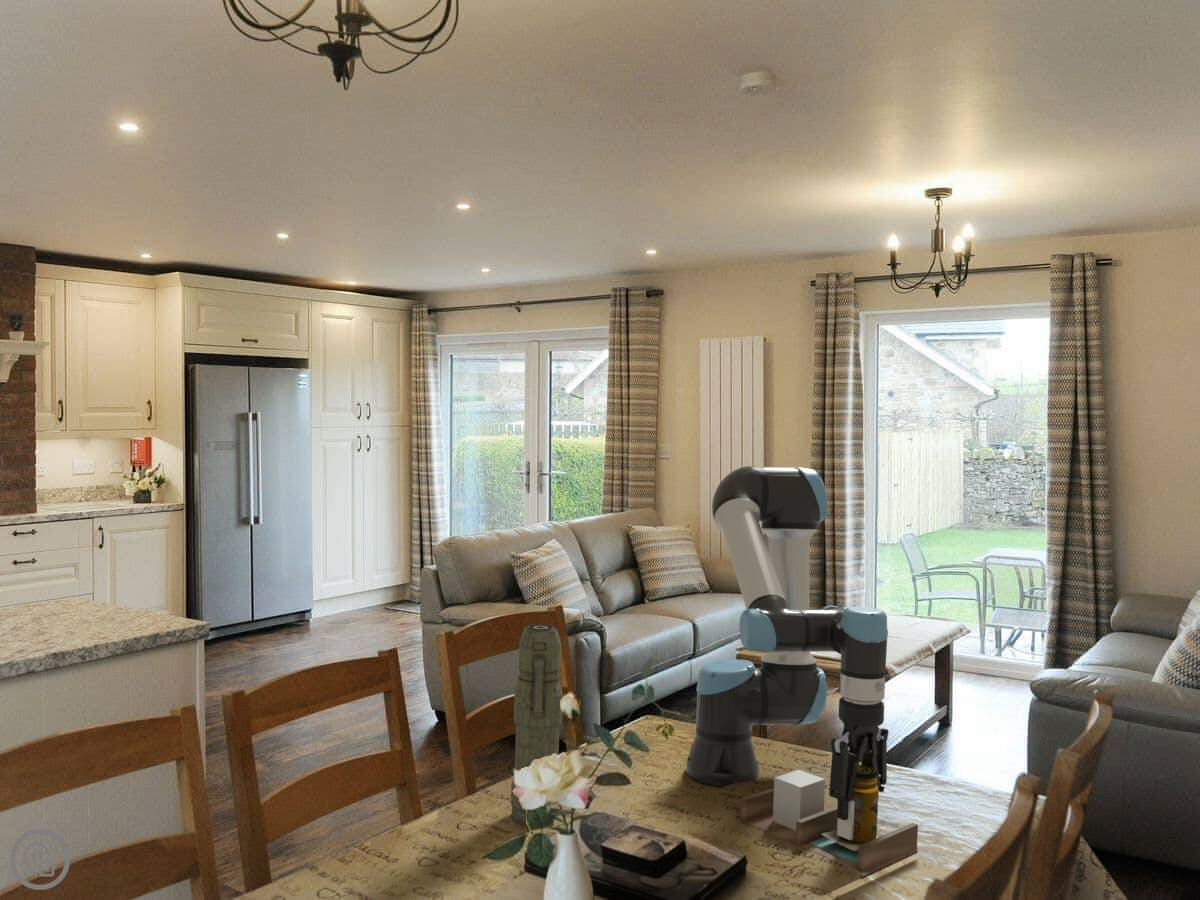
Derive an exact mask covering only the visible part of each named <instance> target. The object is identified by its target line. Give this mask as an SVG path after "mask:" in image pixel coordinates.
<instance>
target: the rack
mask: <svg viewBox="0 0 1200 900" xmlns="http://www.w3.org/2000/svg"><path fill="white" fill-rule="evenodd" d="M773 802H774V787H771V788H769V789H765V790H763V791H760V792H757V793H754V794H751V795H748V796H745V797H742V798H741V800H740V804H741V805H740V821H741V822H744V823H746V824H748V825H750V826H752V827H754V828H757V829H760V830H762V831H763V832H767V833H769V834H771V835H773V836H776V837H778V838H781V839H783V840H784V841H788V842H790V843H792V844H794V845H796V846H799V847H801V848H803V849H806V850H807V851H811V852H813V853H815V854H817V855H820V856H822V857H824V858H827V859H829V860H831V861H834V862H836V863H839V864H841V865H843V866H845V867H848V868H849V869H852V870H854V871H856V872H859V873H861V874H864V873H866V872H868V871H870V870H873V869H875V868H877V867H879V866H881V865H883V864H885V863H887V862H890V861H892V860H894V859H896V858H898V857H901V856H903V855H905V854H907V853H909V852H911V851H914V850H916V849H917V848H918V831H919V828H918V827H919V824H917V823H915V822H911V823H908V824H906V825H904V826H901V827H899V828H897V829H895V830H893V831H890V832H888V833H885V834H884V833H881V832H878V831H877V836H878V838H876V839H874V840H871V841H869V842H867V843H864V844H862V845H860V846H858V850H856V851H853V850H851V849H848V848H846V847H845V846H842V845H839V844H838V843H836V842H834V841H832V840H830V839H828V838H827V837H825V836H823V835H822V834H823V833H828V832H831V831H834V830H837V825H838V817H837V810H838V809H837V806H838V805H836V806H833V807H830V808H827V809H824V811H822V812H819V813H816V814H814V815H811V816H808V817H806V818H803V819H800V820H798V821H797V822H796V831H795V830H793V829H791V828H788V827H786V826H783V825H781V824H779V823H776V822H774V821H773ZM917 854H918V851H915V852H913V853H910V854H909V855H905V856H904V857H902V858H900V859H898V860H895V861H893V862H891V863H889V864H887V865H884V866H883V867H880V868H878V869H876V870H874V871H872V872H868V874H865V875H862V876H861V877H860V879H861V880H863V879H865V878H867V876H868V877H870V876H871V875H874V874H875V873H877V872H880V871H883V870H884V869H887V868H888V867H891V866H893V865H895V864H897V863H900V862H903V860H906V859H908V858H910V857H912V856H914V855H917Z"/></svg>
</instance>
